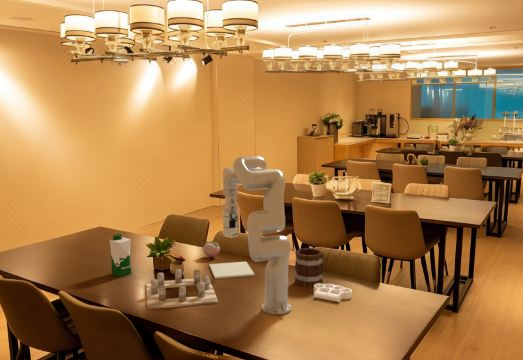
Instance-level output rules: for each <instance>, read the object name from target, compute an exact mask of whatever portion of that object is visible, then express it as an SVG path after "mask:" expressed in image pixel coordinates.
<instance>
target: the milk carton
mask: <svg viewBox="0 0 523 360" xmlns="http://www.w3.org/2000/svg"><path fill="white" fill-rule="evenodd" d="M112 236H113V237H112V239H109V240H108V241H109V245H110V255H111V256H110V259H111V275H112V276H116V277H119V278H122V277H125V276H128V275H132V265H131V250H130V249H131V241H132V239H131V238H127V237H123V236H122V234H120V233H116V234H113V235H112Z"/></svg>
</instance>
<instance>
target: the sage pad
mask: <svg viewBox="0 0 523 360" xmlns="http://www.w3.org/2000/svg"><path fill="white" fill-rule="evenodd" d="M209 268H210V270H211V273H212V275H213V278H214V280H218V279H229V278H243V277H244V278H245V277H253V276H254V277H255V272H254V271H253V270H252V268H251V266H250V265H249V263H248V262H247V261H238V262H235V261H234V262H222V263H211V264H210V263H209Z"/></svg>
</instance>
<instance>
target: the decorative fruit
mask: <svg viewBox="0 0 523 360" xmlns="http://www.w3.org/2000/svg"><path fill="white" fill-rule="evenodd" d="M212 241H213V240H209V241H205V242H204V245H203V253H204V254H205V255H206V256H207V257H210V258H211V259H212V258H214V257H216V256H217V255H218V254H219V253H220V251H221V248H220V244H219V243H217V242H216V241H214V242H212Z"/></svg>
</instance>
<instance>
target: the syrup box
mask: <svg viewBox="0 0 523 360" xmlns="http://www.w3.org/2000/svg"><path fill="white" fill-rule="evenodd" d="M230 214H232V211H231V212H230ZM229 220H230V217H229V215H228V213H227V209H225V208H222V226H223V227H222V231H223V237H225V238H231V239H232V238H236V237H238V236H239V235H240V233H239V231H240V229H239V228H240V227H239V213H238V214H237V215H236V214H235V220H236V228H229Z"/></svg>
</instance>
